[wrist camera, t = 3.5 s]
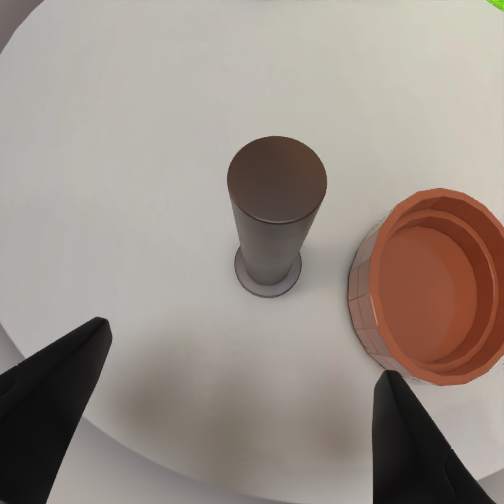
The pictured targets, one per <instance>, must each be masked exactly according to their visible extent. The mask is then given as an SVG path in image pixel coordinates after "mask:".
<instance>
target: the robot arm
mask: <svg viewBox="0 0 504 504" xmlns="http://www.w3.org/2000/svg"><path fill="white" fill-rule="evenodd" d="M111 343H112V333H111V329H110V325H109V321H108V320H107V319H105V318H101V317H95V318H93V319H91V320H90V321H88V322H86V323H85V324H83V325H81V326H80V327H78V328H76V329H75V330H73V331H71V332H70V333H68V334H66V335H65V336H63V337H61V338H60V339H58V340H56V341H55V342H53V343H52V344H50V345H48V346H47V347H45V348H43V349H42V350H40V351H38V352H37V353H35V354H34V355H32V356H30V357H29V358H27V359H26V360H24V361H22V362H21V363H19V364H18V365H17V366H14V367H13V368H11V369H9V370H8V371H6V372H4V373H3V374H1V375H0V504H46V502H47V499H48V497H49V494H50V491H51V489H52V486H53V483H54V481H55V478H56V475H57V473H58V470H59V468H60V465H61V463H62V460H63V457H64V456H65V453H66V450H67V448H68V446H69V444H70V441H71V439H72V437H73V434H74V432H75V430H76V427H77V425H78V423H79V421H80V418H81V416H82V414H83V412H84V410H85V407H86V405H87V403H88V401H89V399H90V397H91V394H92V392H93V390H94V388H95V386H96V384H97V382H98V379H99V377H100V374H101V371H102V368H103V365H104V363H105V360H106V357H107V354H108V352H109V349H110V346H111ZM372 451H373V504H496V503H495V502H494V501H493V500H492V499H491V498H490V497H489V496H488V495H487V494H486V492H485V491H484V490H483V489H482V487H481V486H480V485H479V484H478V483H477V481H476V480H475V479H474V478H473V477H472V475H471V474H470V473H469V471H468V470H467V469H466V468H465V466H464V465H463V463H462V462H461V461H460V459H459V458H458V456H457V455H456V453H455V452H454V450H453V449H451V446H450V445H449V443H448V442H447V440H446V439H445V437H444V436H443V434H442V433H441V431H440V430H439V428H438V427H437V426H436V424H435V423H434V421H433V420H432V418H431V417H430V416H429V414H428V413H427V411H426V410H425V408H424V407H423V406H422V404H421V403H420V401H419V400H418V399H417V397H416V396H415V394H414V393H413V392H412V390H411V389H410V387H409V386H408V385H407V383H406V382H405V380H404V379H403V378H402V376H401V375H400V374H399V372H398V371H396V370H385V371H384V372H383V373H382V375H381V377H380V378H379V380H378V381H377V383H376V385H375V388H374V402H373V420H372Z"/></svg>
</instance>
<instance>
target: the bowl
mask: <svg viewBox="0 0 504 504" xmlns="http://www.w3.org/2000/svg"><path fill="white" fill-rule="evenodd" d="M348 303H349V307H350V312H351V316H352V320H353V325H354V329H355V331H356V333H357V334H358V336H359V338H360V340H361V341H362V343H363V345H364V347H365V348H366V350H367V352H368V353H369V355H371V356H372V357H373V358H374V359H375V360H376V361H377V362H379V363H380V364H381V365H382V366H383V367H384V368H385V369H387V370H396V371H398V372H399V374H400V375H401V376H404V377H407V378H410V379H414V380H418V381H421V382H425V383H429V384H433V385H438V386H449V385H461V384H466V383H468V382H470V381H472V380H474V379H476V378H477V377H479V376H481V375H483V374H485V373H487V372H488V371H489V370H490V369H491V368H492V367H493V366H494V365H495V364H496V362H497V361H498V360H499V359H500V358H501V357H502V356H503V355H504V227H503V226H502V224H501V223H500V222H499V221H498V220H497V218H496V217H495V216H494V215H493V214H492V213H491V212H490V211H489V210H488V209H487V208H486V207H485V206H484V205H483V204H481V203H480V202H478V201H477V200H475V199H473V198H472V197H470V196H468V195H467V194H465V193H462V192H457V191H453V190H448V189H444V188H437V189H431V190H425V191H419V192H416V193H415V194H413V195H412V196H410V197H409V198H407V199H405V200H404V201H402V202H401V203H399V204H397V205H396V206H395V207H394V208H393V209H392V210H391V211H390V212H389V213H388V214H387V215H386V216H385V217H384V218H383V219H382V220H381V221H380V222H379V223H378V224H377V225H376V226H375V227H374V228H373V230H372V231H371V232H370V233H369V235H368V236H367V237H366V239H365V240H364V241H363V242H362V244H361V245H360V247H359V248H358V251H357V254H356V257H355V259H354V262H353V265H352V268H351V270H350V278H349V295H348Z"/></svg>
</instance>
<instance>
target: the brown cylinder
mask: <svg viewBox="0 0 504 504" xmlns="http://www.w3.org/2000/svg"><path fill="white" fill-rule="evenodd" d="M227 185H228V190H229V195H230V199H231V204H232V209H233V213H234V218H235V222H236V227H237V231H238V236H239V240H240V247H239V248H238V250H237V253H236V256H235V264H234V265H235V272H236V275H237V277H238V280H239V282H240V283H241V285H242V286H243V287H244V288H245V289H246V290H247V291H248V292H250V293H252V294H253V295H256V296H259V297H264V298H272V297H277V296H280V295H282V294H284V293H286V292H287V291H289V290H290V289H291V288H292V287H293V286H294V284H295V283H296V281H297V280H298V278H299V275H300V272H301V266H302V264H301V256H300V253H299V251H300V249H301V247H302V244H303V242H304V240H305V238H306V236H307V234H308V232H309V229H310V227H311V225H312V223H313V221H314V219H315V216H316V214H317V212H318V210H319V208H320V205H321V203H322V201H323V199H324V196H325V194H326V189H327V176H326V171H325V168H324V166H323V164H322V162H321V160H320V159H319V157H318V156H317V154H316V153H315V152H314V151H313V150H312V149H310V148H309V147H308V146H306V145H305V144H303V143H301V142H299V141H297V140H295V139H292V138H288V137H282V136H269V137H264V138H260V139H257V140H254V141H252V142H250V143H249V144H247V145H245V146H244V147H243V148H242V149H241V150H240V151H239V152H238V153H237V154H236V155H235V157H234V158H233V160H232V161H231V163H230V166H229V169H228V174H227Z"/></svg>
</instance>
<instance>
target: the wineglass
mask: <svg viewBox="0 0 504 504" xmlns="http://www.w3.org/2000/svg"><path fill="white" fill-rule="evenodd" d="M487 1H489V2H490V3H492V4H493V5H495V6H496V7H498V8H499V9H501V10H503V11H504V0H487Z"/></svg>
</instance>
